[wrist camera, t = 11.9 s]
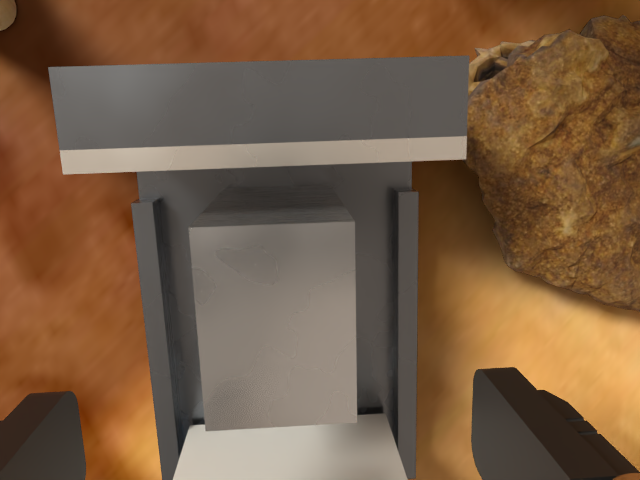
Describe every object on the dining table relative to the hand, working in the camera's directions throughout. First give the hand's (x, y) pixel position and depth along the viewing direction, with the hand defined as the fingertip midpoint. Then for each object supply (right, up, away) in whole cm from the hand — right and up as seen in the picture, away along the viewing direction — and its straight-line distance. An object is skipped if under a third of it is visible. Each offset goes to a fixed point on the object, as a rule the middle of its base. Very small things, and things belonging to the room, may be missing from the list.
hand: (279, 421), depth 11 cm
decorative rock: (+13, +7, +13) cm, 20 cm away
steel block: (-1, +3, +12) cm, 12 cm away
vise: (-1, +2, +13) cm, 13 cm away
